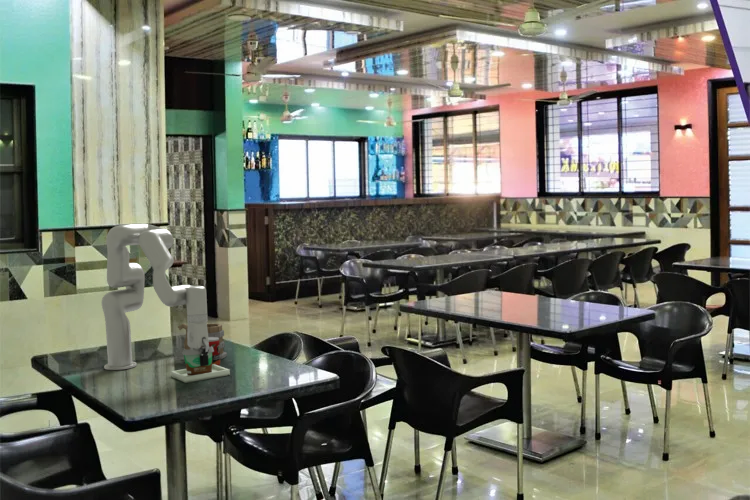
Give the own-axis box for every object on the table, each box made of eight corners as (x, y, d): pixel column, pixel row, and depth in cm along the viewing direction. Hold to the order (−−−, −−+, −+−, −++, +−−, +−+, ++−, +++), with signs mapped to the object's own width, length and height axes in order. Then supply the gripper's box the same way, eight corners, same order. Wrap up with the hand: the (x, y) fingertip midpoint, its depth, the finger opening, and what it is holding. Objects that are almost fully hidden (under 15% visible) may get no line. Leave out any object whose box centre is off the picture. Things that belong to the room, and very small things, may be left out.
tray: (171, 376, 299) (170, 371, 299) (214, 369, 310) (214, 364, 310) (185, 382, 288) (185, 377, 288) (229, 374, 298) (229, 369, 298)
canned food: (216, 367, 313) (214, 340, 312) (197, 367, 314) (196, 340, 314) (223, 363, 320) (222, 336, 319) (205, 363, 322) (204, 336, 321)
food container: (187, 377, 292) (185, 350, 292) (183, 375, 297) (181, 349, 297) (219, 372, 298) (217, 346, 298) (214, 371, 303) (213, 345, 303)
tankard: (230, 354, 338) (228, 320, 337) (219, 360, 325) (217, 325, 324) (186, 354, 341) (184, 320, 340) (174, 360, 329) (172, 325, 328)
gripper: (179, 317, 302) (181, 361, 303) (197, 322, 288) (199, 368, 289) (197, 314, 306) (199, 358, 308) (216, 319, 292) (218, 365, 294)
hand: (199, 363), depth 298 cm, fingers open, 8 cm apart
